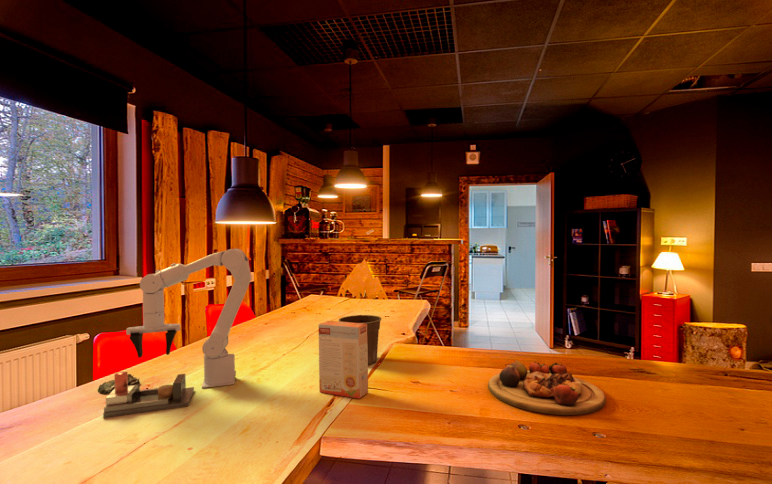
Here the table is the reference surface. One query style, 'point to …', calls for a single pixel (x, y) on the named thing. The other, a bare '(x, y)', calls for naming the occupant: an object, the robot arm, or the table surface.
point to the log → (110, 385)
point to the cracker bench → (154, 400)
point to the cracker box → (343, 359)
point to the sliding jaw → (122, 391)
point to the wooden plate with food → (546, 390)
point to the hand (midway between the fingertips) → (154, 355)
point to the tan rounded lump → (165, 392)
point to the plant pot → (368, 332)
